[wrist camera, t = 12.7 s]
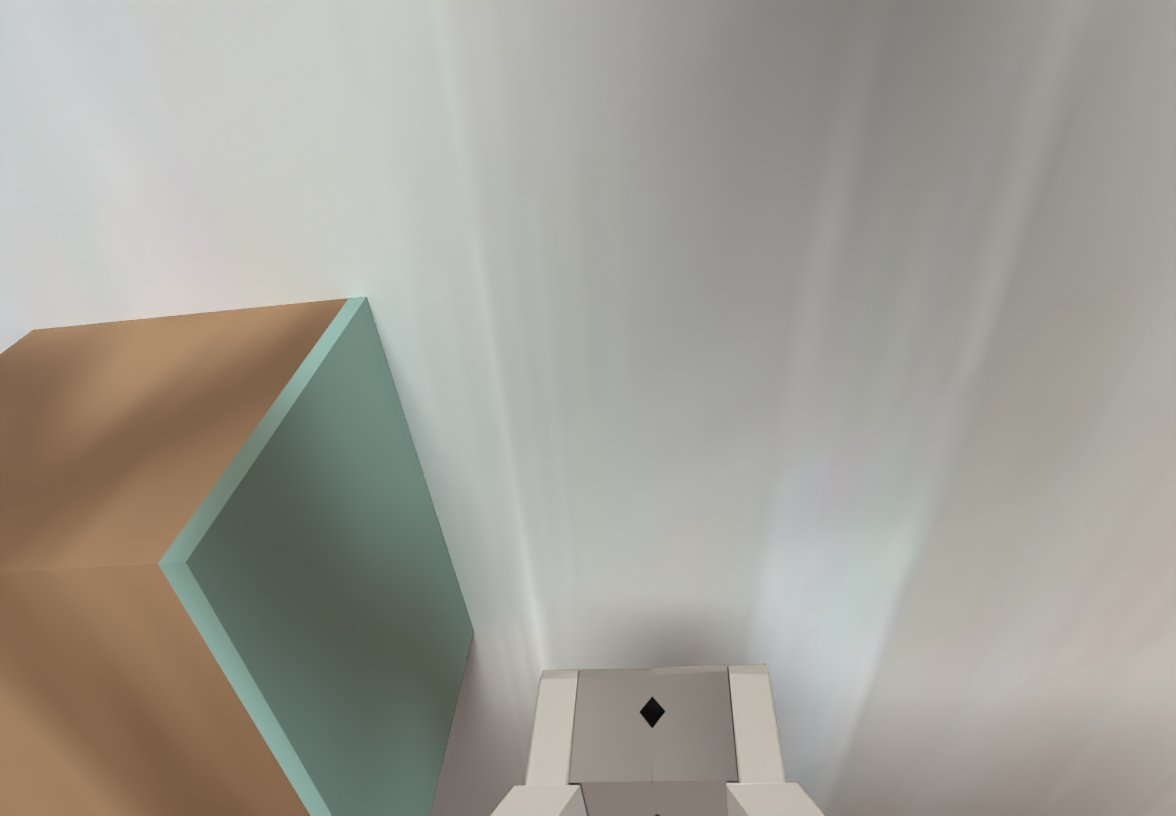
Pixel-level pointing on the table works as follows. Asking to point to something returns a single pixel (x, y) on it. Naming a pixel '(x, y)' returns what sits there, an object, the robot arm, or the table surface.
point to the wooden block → (219, 572)
